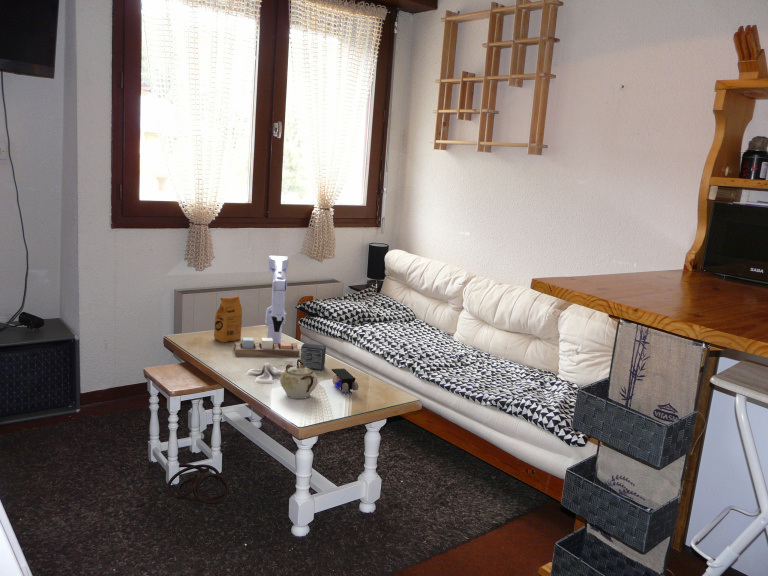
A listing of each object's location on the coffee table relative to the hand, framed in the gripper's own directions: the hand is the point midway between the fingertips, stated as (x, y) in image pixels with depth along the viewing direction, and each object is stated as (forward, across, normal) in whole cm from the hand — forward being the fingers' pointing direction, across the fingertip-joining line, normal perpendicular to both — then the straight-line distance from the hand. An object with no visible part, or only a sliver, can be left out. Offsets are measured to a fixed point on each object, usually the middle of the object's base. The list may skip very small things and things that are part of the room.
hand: (276, 331), depth 313 cm
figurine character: (+11, -51, -23) cm, 57 cm away
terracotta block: (+10, 0, -5) cm, 11 cm away
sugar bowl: (+11, -57, -3) cm, 58 cm away
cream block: (+8, 0, +4) cm, 9 cm away
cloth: (+11, -33, +6) cm, 35 cm away
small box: (+11, -22, -14) cm, 29 cm away
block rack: (+10, 0, +4) cm, 11 cm away
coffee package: (+11, +21, +22) cm, 32 cm away
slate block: (+8, 0, +13) cm, 15 cm away
